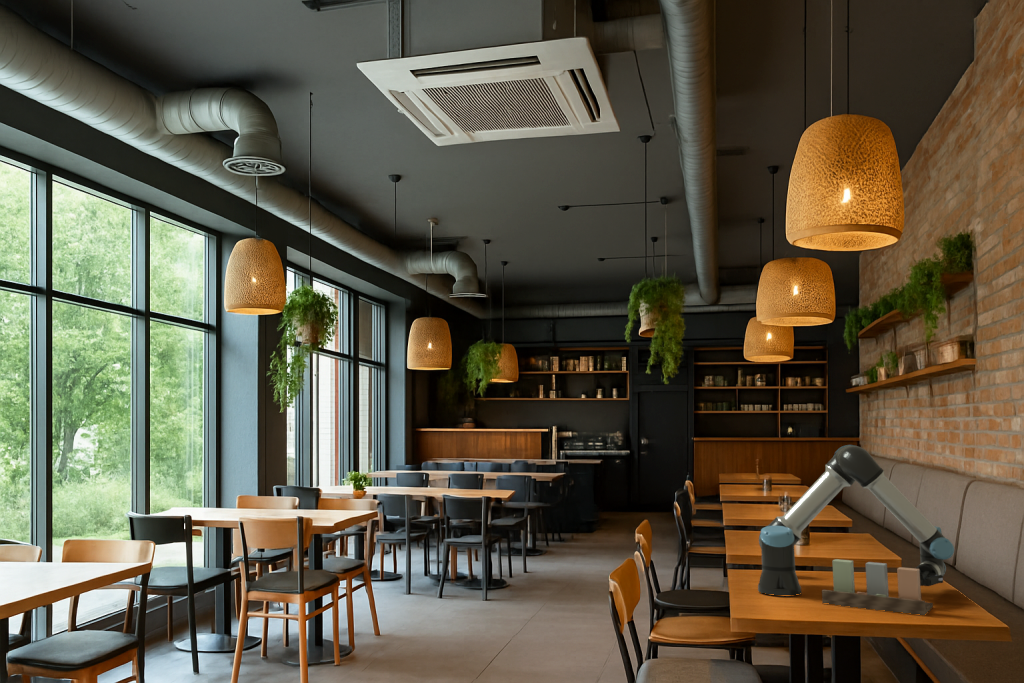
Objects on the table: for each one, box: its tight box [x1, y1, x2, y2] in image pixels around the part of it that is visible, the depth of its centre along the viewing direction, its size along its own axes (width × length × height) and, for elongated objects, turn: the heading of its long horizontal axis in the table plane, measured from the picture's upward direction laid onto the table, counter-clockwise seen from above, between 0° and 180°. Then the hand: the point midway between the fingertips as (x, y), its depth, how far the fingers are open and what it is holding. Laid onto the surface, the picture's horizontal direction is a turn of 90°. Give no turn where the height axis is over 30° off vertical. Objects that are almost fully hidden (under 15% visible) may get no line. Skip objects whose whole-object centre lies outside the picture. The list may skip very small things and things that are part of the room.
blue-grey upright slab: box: [865, 561, 890, 597], centre depth 278 cm, size 6×4×12 cm, turn 53°
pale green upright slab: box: [831, 558, 856, 593], centre depth 285 cm, size 6×4×12 cm, turn 54°
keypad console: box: [821, 589, 934, 616], centre depth 276 cm, size 32×14×5 cm, turn 53°
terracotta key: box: [896, 566, 922, 600], centre depth 268 cm, size 6×4×12 cm, turn 53°
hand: (913, 584), depth 272 cm, fingers closed
